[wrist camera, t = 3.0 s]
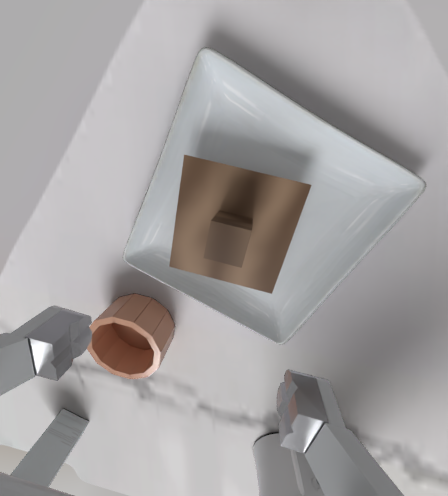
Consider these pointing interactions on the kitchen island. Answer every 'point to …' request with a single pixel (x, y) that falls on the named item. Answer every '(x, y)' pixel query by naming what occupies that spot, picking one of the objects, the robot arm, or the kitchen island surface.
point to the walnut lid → (234, 223)
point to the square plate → (281, 165)
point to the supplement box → (51, 449)
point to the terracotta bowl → (132, 336)
